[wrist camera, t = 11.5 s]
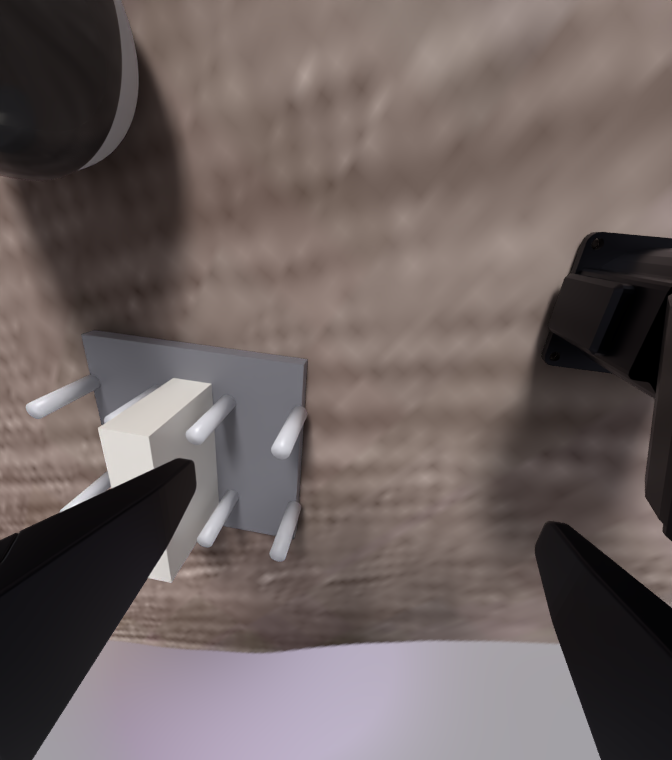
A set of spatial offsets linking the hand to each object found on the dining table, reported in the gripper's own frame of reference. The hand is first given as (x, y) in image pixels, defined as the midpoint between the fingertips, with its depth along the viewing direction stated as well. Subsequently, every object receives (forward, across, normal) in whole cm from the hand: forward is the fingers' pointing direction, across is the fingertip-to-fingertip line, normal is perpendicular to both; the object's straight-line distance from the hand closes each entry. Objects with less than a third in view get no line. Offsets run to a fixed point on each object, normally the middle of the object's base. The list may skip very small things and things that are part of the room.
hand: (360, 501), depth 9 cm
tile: (+11, +11, +8) cm, 17 cm away
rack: (+12, +11, +8) cm, 18 cm away
